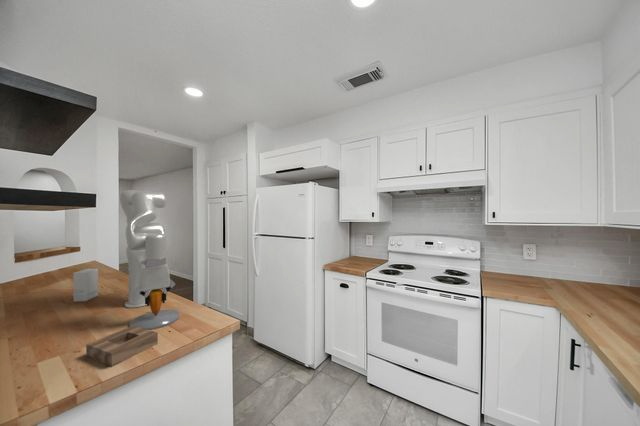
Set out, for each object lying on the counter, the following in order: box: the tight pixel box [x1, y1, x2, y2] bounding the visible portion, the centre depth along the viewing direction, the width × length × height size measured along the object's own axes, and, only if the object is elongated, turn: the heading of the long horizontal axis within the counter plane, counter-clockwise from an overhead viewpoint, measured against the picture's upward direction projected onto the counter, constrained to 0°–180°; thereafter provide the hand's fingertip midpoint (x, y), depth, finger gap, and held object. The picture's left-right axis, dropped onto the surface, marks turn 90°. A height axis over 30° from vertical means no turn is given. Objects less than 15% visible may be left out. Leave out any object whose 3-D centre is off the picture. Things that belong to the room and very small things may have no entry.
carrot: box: [149, 289, 163, 316], centre depth 104 cm, size 5×5×15 cm
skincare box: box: [73, 268, 99, 302], centre depth 130 cm, size 8×7×16 cm
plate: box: [129, 309, 181, 331], centre depth 104 cm, size 18×18×1 cm
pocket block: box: [85, 326, 159, 368], centre depth 82 cm, size 14×14×4 cm
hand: (155, 303), depth 104 cm, fingers closed on carrot, 4 cm apart
